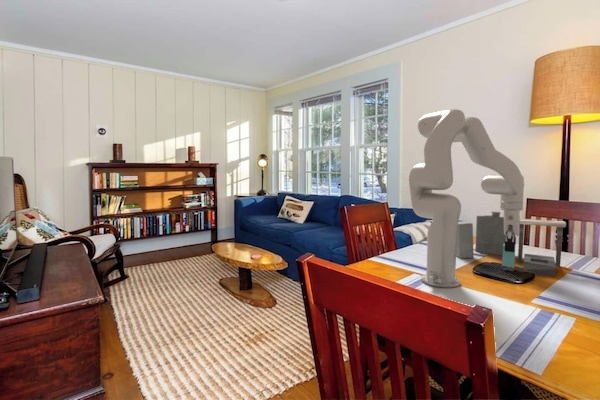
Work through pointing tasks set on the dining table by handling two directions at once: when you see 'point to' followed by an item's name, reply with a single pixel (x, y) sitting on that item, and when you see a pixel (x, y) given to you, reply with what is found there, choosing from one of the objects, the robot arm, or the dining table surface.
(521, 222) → the socket stand
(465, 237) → the skincare box
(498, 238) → the hip flask
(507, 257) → the peg
